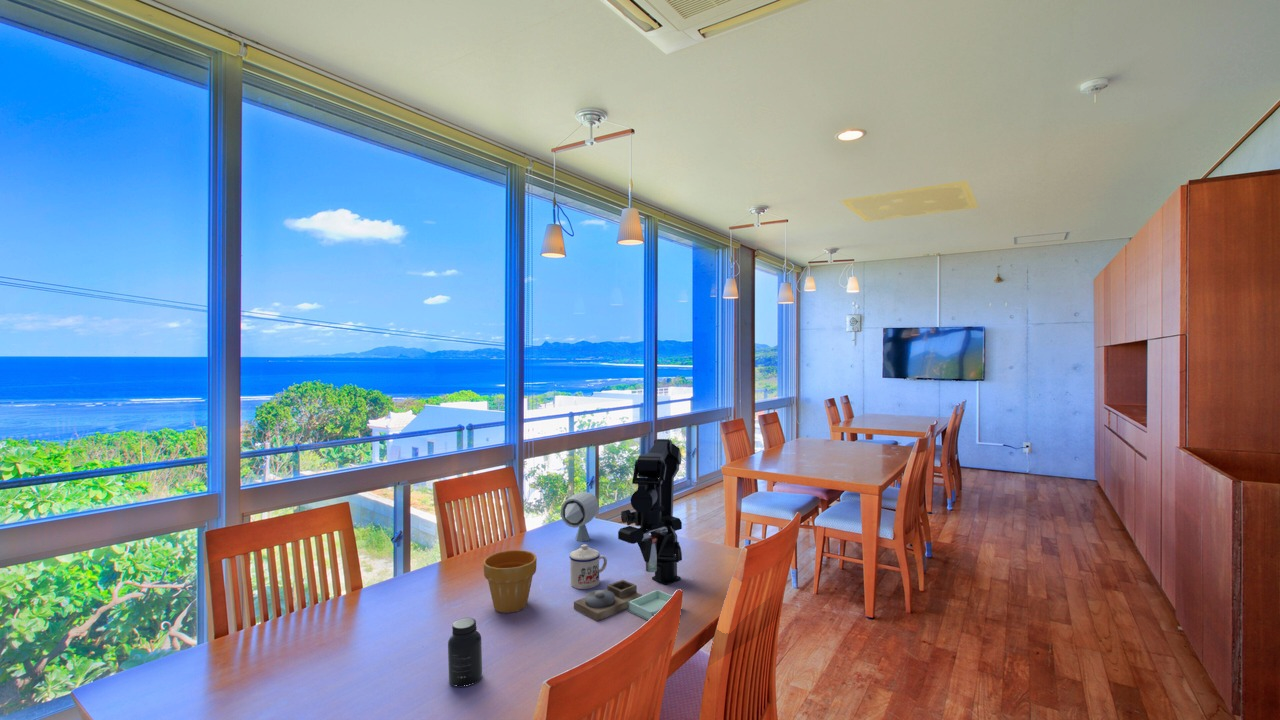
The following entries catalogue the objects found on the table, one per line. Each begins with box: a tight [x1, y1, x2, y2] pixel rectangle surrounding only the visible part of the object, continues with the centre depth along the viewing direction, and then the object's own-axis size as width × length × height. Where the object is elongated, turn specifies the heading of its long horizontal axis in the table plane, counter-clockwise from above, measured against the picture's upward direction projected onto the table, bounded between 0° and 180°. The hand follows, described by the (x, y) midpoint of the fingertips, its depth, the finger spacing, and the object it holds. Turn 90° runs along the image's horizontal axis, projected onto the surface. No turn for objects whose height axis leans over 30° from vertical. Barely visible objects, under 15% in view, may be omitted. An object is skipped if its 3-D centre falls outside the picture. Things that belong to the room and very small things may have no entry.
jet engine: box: [560, 491, 600, 543], centre depth 205 cm, size 15×20×18 cm
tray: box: [627, 589, 673, 621], centre depth 148 cm, size 11×9×2 cm
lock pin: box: [645, 534, 658, 573], centre depth 148 cm, size 4×4×9 cm
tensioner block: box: [573, 579, 643, 622], centre depth 151 cm, size 16×10×4 cm, turn 134°
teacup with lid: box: [569, 543, 608, 590], centre depth 167 cm, size 12×9×12 cm
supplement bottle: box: [447, 617, 483, 687], centre depth 117 cm, size 7×7×12 cm
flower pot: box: [483, 549, 537, 614], centre depth 152 cm, size 14×14×13 cm
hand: (651, 560), depth 148 cm, fingers closed on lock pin, 3 cm apart
